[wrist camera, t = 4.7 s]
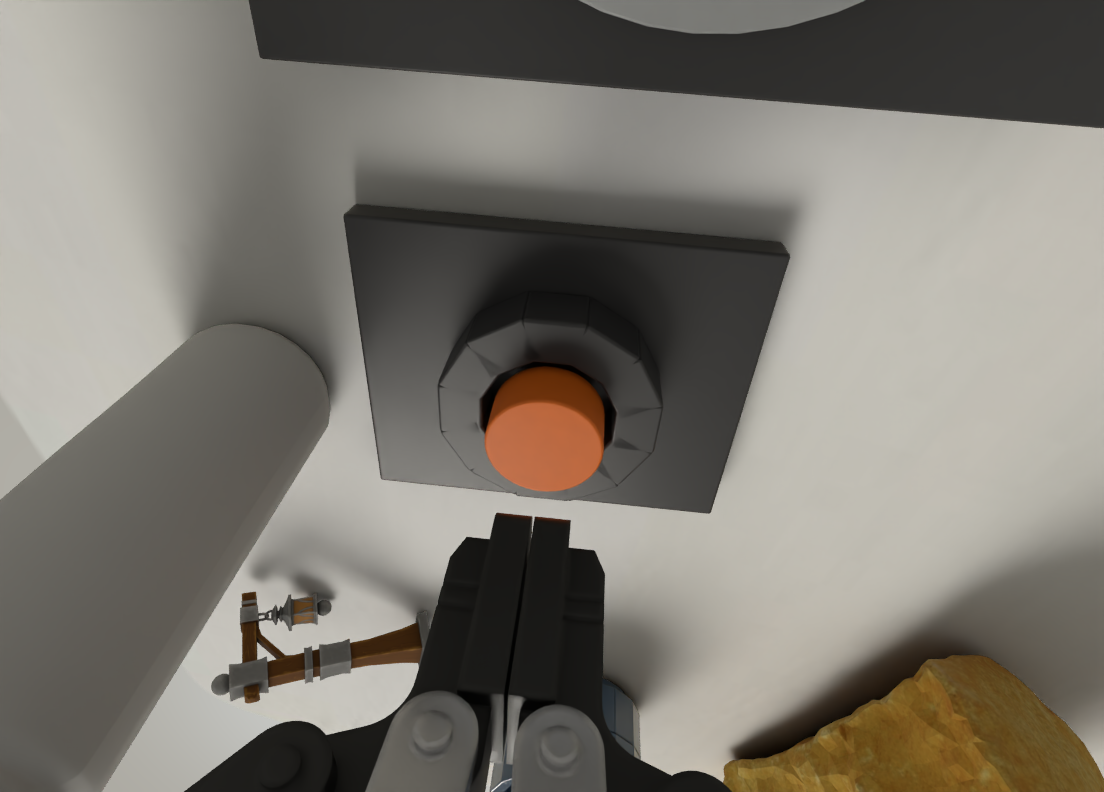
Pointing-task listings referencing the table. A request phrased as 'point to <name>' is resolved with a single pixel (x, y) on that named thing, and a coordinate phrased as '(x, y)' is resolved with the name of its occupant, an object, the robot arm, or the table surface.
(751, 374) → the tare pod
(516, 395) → the button
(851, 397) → the table surface
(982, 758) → the decorative stone
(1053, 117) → the scale
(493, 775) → the blue-grey hollow cylinder
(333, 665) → the hanging lantern post
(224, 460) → the beverage can
